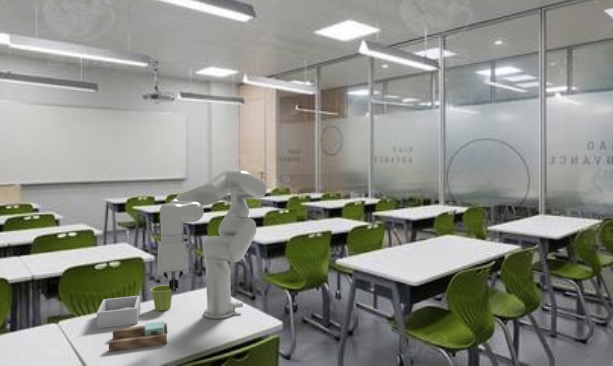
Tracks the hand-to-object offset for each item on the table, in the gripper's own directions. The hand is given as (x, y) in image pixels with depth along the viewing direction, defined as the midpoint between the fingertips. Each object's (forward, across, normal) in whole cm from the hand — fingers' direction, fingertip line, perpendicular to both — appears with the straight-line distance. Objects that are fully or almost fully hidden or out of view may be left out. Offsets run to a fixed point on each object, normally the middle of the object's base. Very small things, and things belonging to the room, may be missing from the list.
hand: (173, 290), depth 149 cm
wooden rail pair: (+17, +12, 0) cm, 20 cm away
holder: (+17, +21, -25) cm, 37 cm away
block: (+17, +7, 0) cm, 18 cm away
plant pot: (+17, +5, -31) cm, 36 cm away
